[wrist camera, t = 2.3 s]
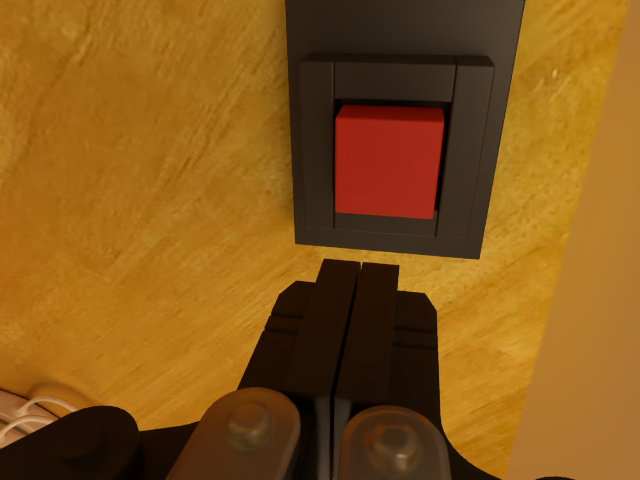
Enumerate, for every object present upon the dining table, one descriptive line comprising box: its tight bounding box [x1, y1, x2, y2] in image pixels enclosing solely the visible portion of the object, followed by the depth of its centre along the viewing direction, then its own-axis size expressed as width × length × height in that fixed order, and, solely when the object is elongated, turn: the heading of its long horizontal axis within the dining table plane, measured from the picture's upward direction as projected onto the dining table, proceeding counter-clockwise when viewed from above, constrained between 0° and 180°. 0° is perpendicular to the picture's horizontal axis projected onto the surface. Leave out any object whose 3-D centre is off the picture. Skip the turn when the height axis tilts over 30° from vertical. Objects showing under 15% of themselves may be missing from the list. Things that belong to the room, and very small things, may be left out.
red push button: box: [285, 0, 525, 260], centre depth 19 cm, size 10×8×4 cm
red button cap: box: [335, 104, 444, 219], centre depth 17 cm, size 3×3×2 cm
